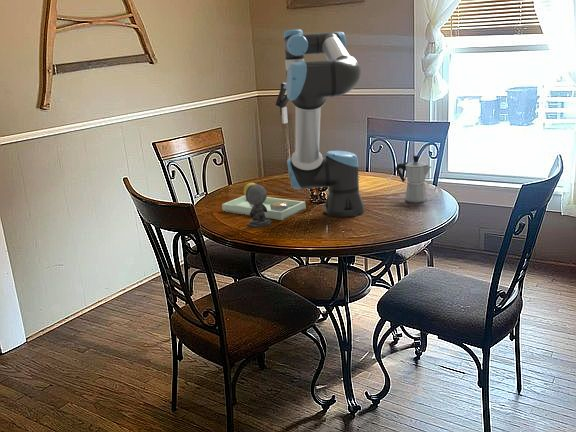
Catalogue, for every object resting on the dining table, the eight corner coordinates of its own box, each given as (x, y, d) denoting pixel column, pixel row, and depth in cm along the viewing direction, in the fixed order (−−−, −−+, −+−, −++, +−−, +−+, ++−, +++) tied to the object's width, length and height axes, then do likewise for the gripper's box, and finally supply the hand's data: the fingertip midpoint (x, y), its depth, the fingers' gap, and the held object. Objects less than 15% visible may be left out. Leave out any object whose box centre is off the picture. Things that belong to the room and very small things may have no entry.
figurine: (257, 218, 223) (254, 180, 219) (277, 222, 217) (274, 183, 213) (241, 225, 217) (238, 185, 213) (261, 229, 211) (258, 188, 207)
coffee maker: (435, 198, 234) (435, 154, 229) (427, 204, 227) (427, 158, 222) (400, 195, 242) (400, 152, 237) (391, 200, 235) (391, 156, 230)
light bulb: (243, 209, 234) (240, 185, 231) (247, 204, 240) (244, 181, 237) (259, 209, 233) (257, 185, 230) (263, 204, 239) (260, 180, 236)
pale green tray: (305, 209, 232) (305, 201, 231) (282, 220, 219) (281, 212, 219) (247, 201, 249) (246, 194, 248) (222, 211, 237) (221, 204, 236)
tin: (291, 209, 230) (291, 202, 229) (281, 213, 225) (281, 207, 224) (277, 207, 234) (277, 200, 233) (267, 211, 229) (266, 205, 228)
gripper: (327, 68, 228) (329, 123, 234) (275, 70, 242) (279, 121, 248) (316, 70, 222) (319, 125, 228) (264, 71, 236) (268, 124, 242)
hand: (298, 123), depth 238 cm, fingers open, 13 cm apart
